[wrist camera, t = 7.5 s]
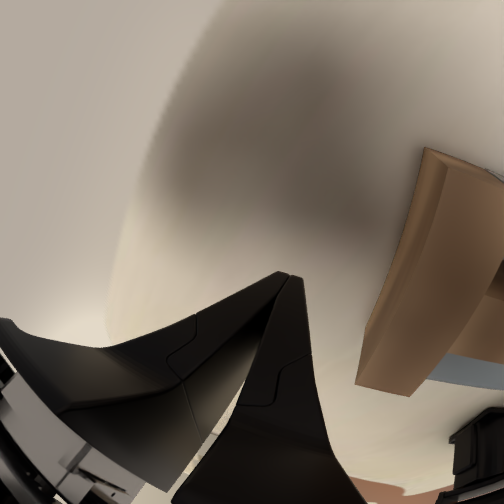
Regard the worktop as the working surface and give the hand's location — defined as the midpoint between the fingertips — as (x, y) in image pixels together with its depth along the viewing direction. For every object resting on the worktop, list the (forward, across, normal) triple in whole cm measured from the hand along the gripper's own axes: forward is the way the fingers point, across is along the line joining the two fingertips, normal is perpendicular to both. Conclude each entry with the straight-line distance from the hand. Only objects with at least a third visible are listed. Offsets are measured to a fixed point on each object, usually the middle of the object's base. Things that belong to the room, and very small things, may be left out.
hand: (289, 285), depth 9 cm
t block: (+5, -8, 0) cm, 9 cm away
